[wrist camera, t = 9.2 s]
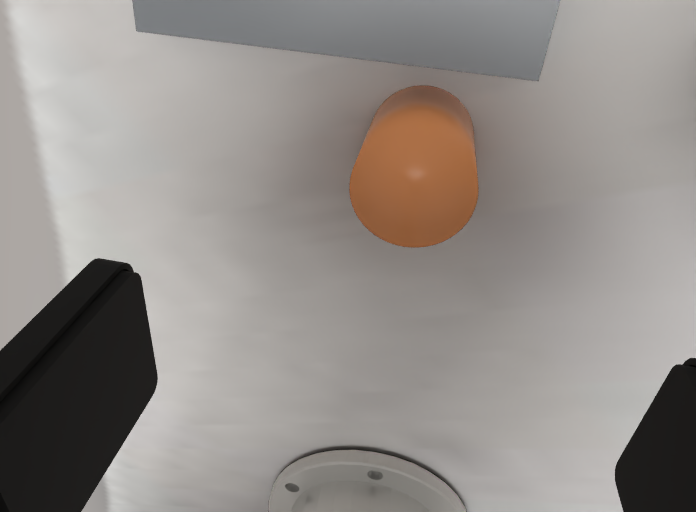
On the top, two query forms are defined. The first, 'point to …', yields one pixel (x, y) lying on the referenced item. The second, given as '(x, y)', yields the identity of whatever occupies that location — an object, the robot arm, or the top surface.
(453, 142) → the cap
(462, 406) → the top surface
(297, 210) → the top surface
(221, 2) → the breaker board
